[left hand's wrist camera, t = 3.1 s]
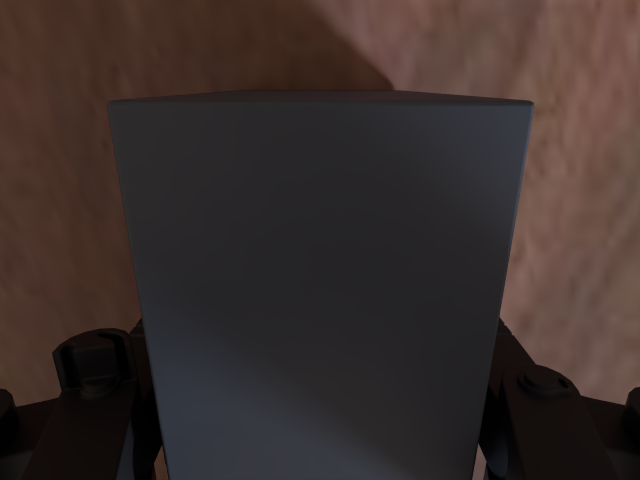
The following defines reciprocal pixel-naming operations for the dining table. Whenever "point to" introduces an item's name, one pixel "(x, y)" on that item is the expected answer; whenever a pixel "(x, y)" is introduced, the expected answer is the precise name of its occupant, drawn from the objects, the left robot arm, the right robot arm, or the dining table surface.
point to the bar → (320, 275)
